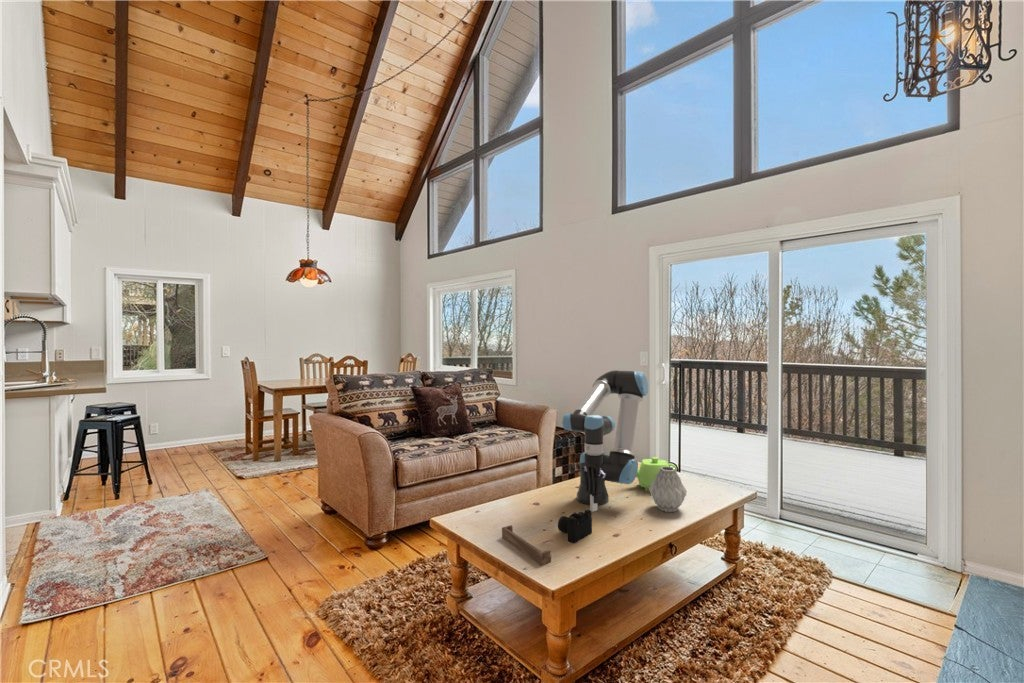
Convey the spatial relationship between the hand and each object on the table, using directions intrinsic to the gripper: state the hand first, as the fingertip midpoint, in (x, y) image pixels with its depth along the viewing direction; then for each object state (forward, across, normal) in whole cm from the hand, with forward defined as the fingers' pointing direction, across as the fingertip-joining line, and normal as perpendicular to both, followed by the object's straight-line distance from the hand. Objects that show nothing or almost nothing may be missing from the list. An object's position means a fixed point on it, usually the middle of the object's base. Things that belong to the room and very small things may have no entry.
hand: (593, 510), depth 193 cm
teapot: (+6, -21, +60) cm, 63 cm away
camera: (+8, 0, -11) cm, 13 cm away
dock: (+8, 0, -34) cm, 35 cm away
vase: (+7, +4, +42) cm, 42 cm away
